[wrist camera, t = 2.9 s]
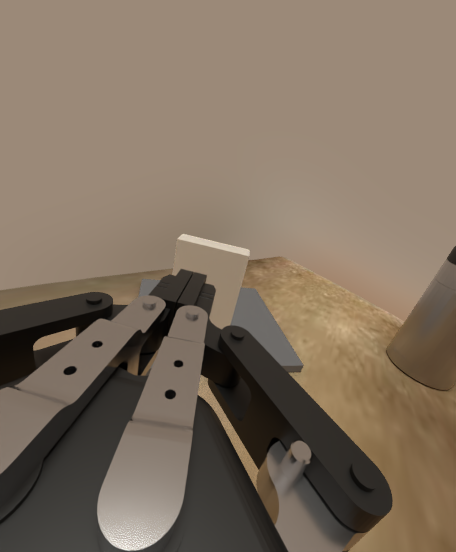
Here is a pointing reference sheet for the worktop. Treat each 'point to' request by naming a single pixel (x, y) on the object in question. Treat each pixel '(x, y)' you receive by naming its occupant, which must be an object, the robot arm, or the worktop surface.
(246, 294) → the mat
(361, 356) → the worktop surface
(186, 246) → the tile
